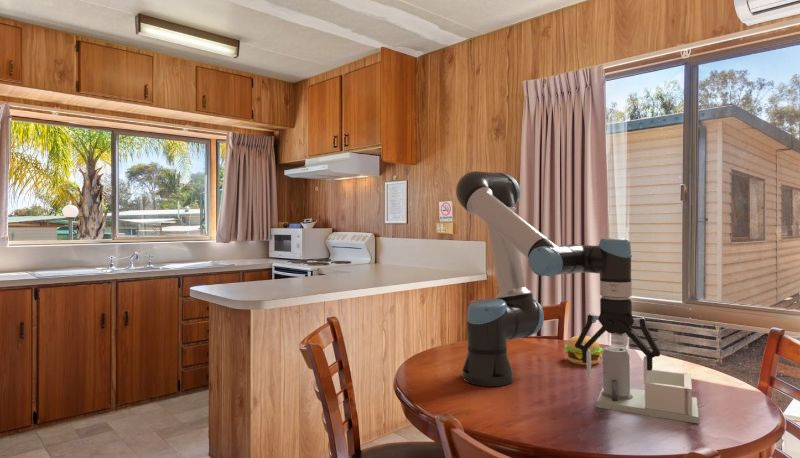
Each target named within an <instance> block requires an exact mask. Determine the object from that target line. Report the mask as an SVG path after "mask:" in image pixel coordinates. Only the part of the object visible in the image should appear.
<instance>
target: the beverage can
mask: <svg viewBox="0 0 800 458" xmlns="http://www.w3.org/2000/svg"><path fill="white" fill-rule="evenodd" d="M630 370H631V368H630V353H629V351H628V348H625V347H622V346H605V347H604V348H603V352H602V380H603V381H602V383H603V384H602V386H603V387H602V388H603V391H604V392H605V393H606V394H607V395H608V396H611V397H612V380H617V381H618V398H624V397H627V396H628V395H629V394H630V389H631V375H630V374H631V372H630Z"/></svg>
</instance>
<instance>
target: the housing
mask: <svg viewBox="0 0 800 458" xmlns="http://www.w3.org/2000/svg"><path fill="white" fill-rule="evenodd" d="M644 390H645V408H649V409H656V410H662V411H669V412H675V413H682V414H688V415H692V397H693V388H692V374H691V373H689V372H681V371H672V370H663V369H656V368H652V370H651V371H649V370H648V382H645V384H644Z"/></svg>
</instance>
